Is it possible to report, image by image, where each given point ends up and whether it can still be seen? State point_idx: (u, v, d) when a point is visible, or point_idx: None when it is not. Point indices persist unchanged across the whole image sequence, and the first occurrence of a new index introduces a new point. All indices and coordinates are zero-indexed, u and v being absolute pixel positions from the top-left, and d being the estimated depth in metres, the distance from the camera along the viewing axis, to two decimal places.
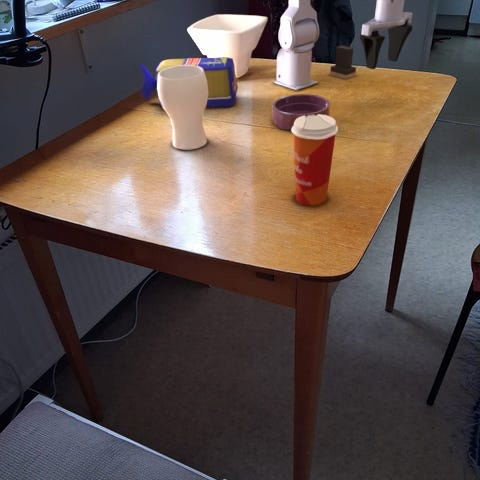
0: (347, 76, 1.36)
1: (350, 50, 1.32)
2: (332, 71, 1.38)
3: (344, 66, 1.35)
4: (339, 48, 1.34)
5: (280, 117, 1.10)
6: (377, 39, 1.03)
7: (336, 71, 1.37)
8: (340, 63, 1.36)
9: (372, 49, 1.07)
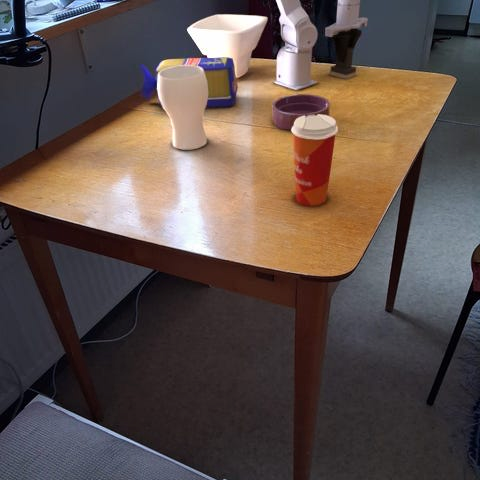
0: (347, 76, 1.36)
1: (350, 50, 1.32)
2: (332, 71, 1.38)
3: (344, 66, 1.35)
4: None
5: (280, 117, 1.10)
6: (344, 37, 1.28)
7: (336, 71, 1.37)
8: (340, 63, 1.36)
9: (341, 46, 1.32)
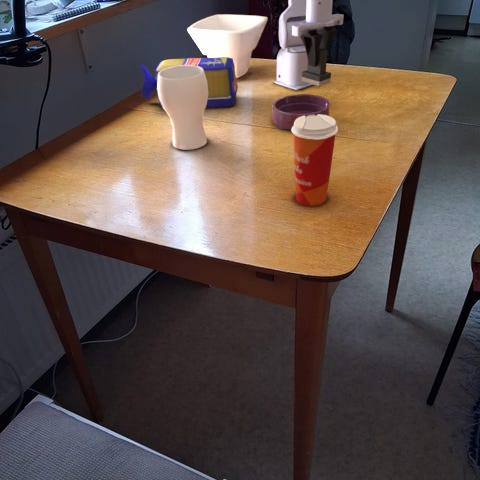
0: (321, 83, 1.15)
1: (323, 52, 1.12)
2: (304, 76, 1.17)
3: (317, 71, 1.15)
4: None
5: (280, 117, 1.10)
6: (315, 37, 1.08)
7: (308, 77, 1.16)
8: (313, 67, 1.15)
9: (312, 47, 1.11)
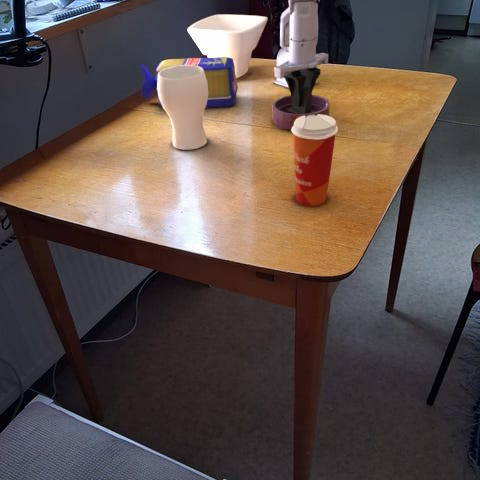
0: None
1: (308, 92, 1.08)
2: None
3: (302, 110, 1.11)
4: None
5: (280, 117, 1.10)
6: (298, 79, 1.05)
7: None
8: (297, 106, 1.12)
9: (296, 87, 1.08)
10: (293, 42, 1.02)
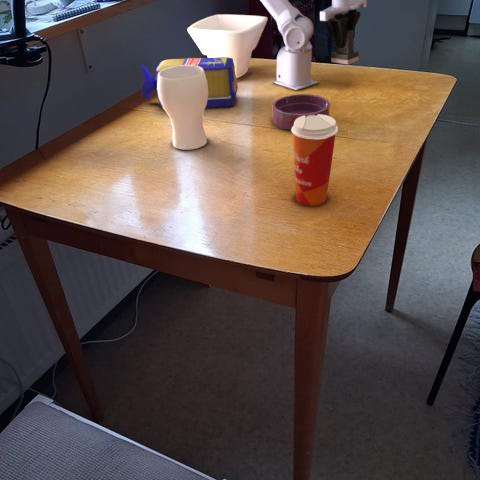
0: (349, 61, 1.25)
1: (350, 32, 1.21)
2: (333, 57, 1.27)
3: (345, 51, 1.24)
4: None
5: (280, 117, 1.10)
6: (341, 20, 1.18)
7: (337, 57, 1.26)
8: (341, 48, 1.25)
9: (339, 30, 1.22)
10: None
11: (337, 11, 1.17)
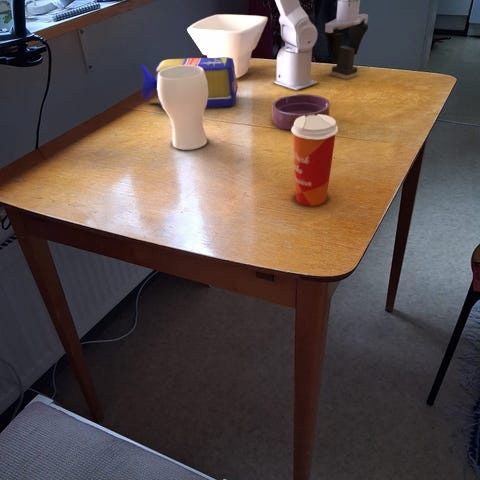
0: (348, 76, 1.35)
1: (351, 50, 1.32)
2: (334, 71, 1.38)
3: (345, 66, 1.35)
4: (340, 48, 1.34)
5: (280, 117, 1.10)
6: (338, 35, 1.26)
7: (337, 71, 1.37)
8: (342, 63, 1.35)
9: (335, 44, 1.30)
10: (341, 2, 1.25)
11: (341, 25, 1.26)
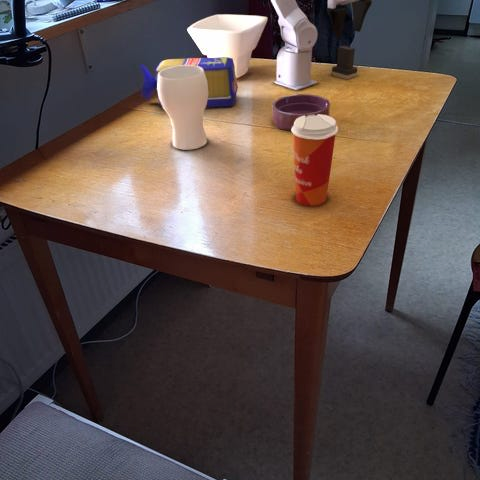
0: (348, 76, 1.35)
1: (351, 50, 1.32)
2: (334, 71, 1.38)
3: (345, 66, 1.35)
4: (340, 48, 1.34)
5: (280, 117, 1.10)
6: (340, 11, 1.23)
7: (337, 71, 1.37)
8: (342, 63, 1.35)
9: (337, 20, 1.27)
10: None
11: (344, 0, 1.23)
